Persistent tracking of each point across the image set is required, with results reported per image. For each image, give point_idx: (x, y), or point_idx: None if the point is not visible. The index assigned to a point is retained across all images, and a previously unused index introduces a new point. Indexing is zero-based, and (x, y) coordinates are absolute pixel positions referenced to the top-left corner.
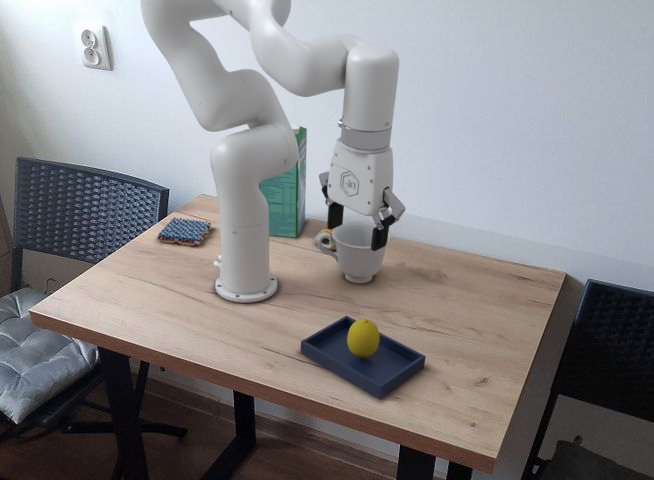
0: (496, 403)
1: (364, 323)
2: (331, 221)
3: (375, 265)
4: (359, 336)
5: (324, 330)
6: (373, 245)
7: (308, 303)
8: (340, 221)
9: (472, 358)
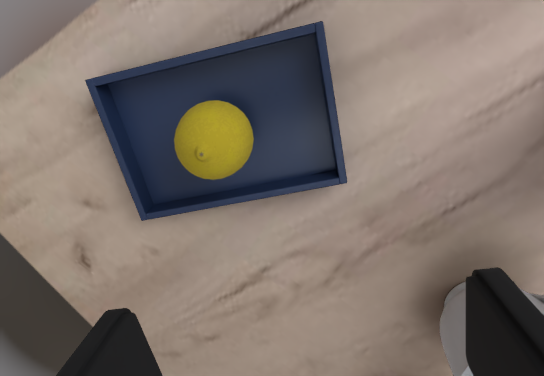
0: (27, 238)
1: (195, 146)
2: (498, 320)
3: (444, 339)
4: (187, 117)
5: (327, 102)
6: (93, 333)
7: (471, 160)
8: (479, 370)
9: (142, 286)
